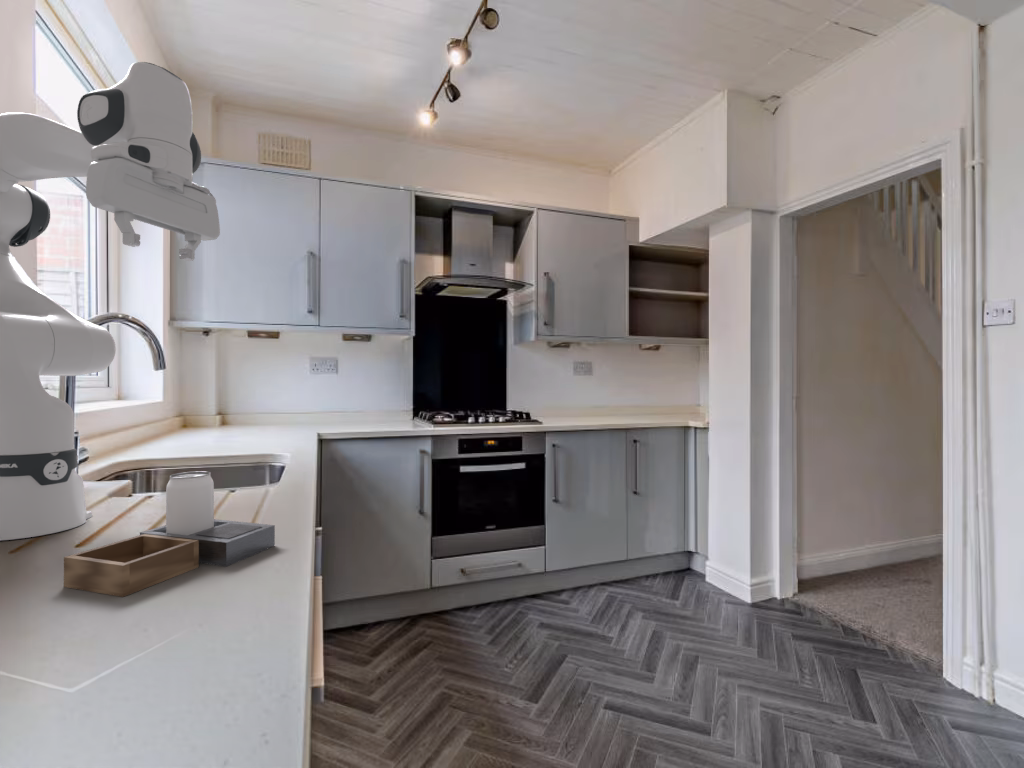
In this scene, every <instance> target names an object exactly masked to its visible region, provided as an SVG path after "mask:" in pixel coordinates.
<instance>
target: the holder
mask: <svg viewBox="0 0 1024 768" xmlns="http://www.w3.org/2000/svg"><path fill="white" fill-rule="evenodd" d="M199 565H200V563H199V540H192V539H183V538H175V537H166V536H158V535H149V534H142V535H140V534H139V535H136V536H132V537H128V538H125V539H123V540H122V539H121V540H119V541H118V540H117V541H114V542H111V543H107V544H104V545H101V546H97V547H95V548H90V549H87V550H85V551H84V550H83V551H81V552H76V553H73V554H70V555H66V556H63V587H64V588H69V589H74V590H80V591H85V592H92V593H98V594H103V595H109V596H115V597H120V598H121V597H122V598H124V597H126V596H129V595H131V594H134V593H137V592H139V591H142V590H145V589H147V588H150V587H152V586H154V585H157V584H159V583H162V582H165V581H167V580H170V579H172V578H175V577H178V576H180V575H183V574H185V573H188V572H190V571H193V570H195V569H197V568H199Z"/></svg>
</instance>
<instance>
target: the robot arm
mask: <svg viewBox="0 0 1024 768" xmlns="http://www.w3.org/2000/svg"><path fill="white" fill-rule="evenodd" d="M192 107H193V106H192V99H191V95H190V90H189V88H188V86H187V84H186V82H185V81H184V80H183V79H181V77H179V76H177V75H176V74H175V73H174V72H172V71H170V70H168V69H166V68H165V67H162V66H160V65H157V64H155V63H151V62H146V61H136V62H133V63H132V64H131V65H130V66H129V69H128V71H127V74H126V75H125V77H124V78H123V79H122V80H120V81H119V82H117V83H116V84H114V85H113V86H111V87H109V88H100V89H97V90H92V91H90V92H88V93H85V94H84V95H82V96H81V97H80V100H79V102H78V105H77V110H76V111H77V112H76V113H77V123H78V127H79V130H80V131H79V130H77V129H75V128H73V127H70V126H67V125H65V124H63V123H61V122H60V123H59V122H58V121H55V120H52V119H50V118H47V117H44V116H41V115H38V114H34V113H25V112H5V113H1V114H0V541H9V540H10V541H11V540H20V539H25V538H26V539H27V538H31V537H32V538H34V537H39V536H45V535H46V536H47V535H50V534H55V533H56V534H57V533H59V532H64V531H67V530H71V529H75V528H77V527H79V526H82V525H83V524H85V523H86V521H87V519H90V518H92V517H93V512H92V511H91V510H87V505H86V495H85V494H86V493H85V488H84V487H85V486H84V479H83V477H82V475H80V474H79V473H78V472H77V471H76V468H77V467H78V459H79V455H78V449H76V448H75V413H74V410H73V408H72V406H71V405H70V404H68V402H66V401H65V400H63V399H61V398H59V397H56V396H54V395H51V394H49V393H48V391H46V390H45V388H44V386H43V385H42V383H41V378H40V376H43V377H45V376H54V377H58V376H60V377H76V376H83V375H90V374H95V373H100V372H103V371H105V370H106V369H107V368H109V366H111V364H112V362H113V361H114V359H115V355H116V350H117V348H116V342H115V340H114V337H113V336H112V334H111V333H110V331H109V330H108V329H106V328H105V327H104V326H101V325H98V324H96V323H93V322H92V321H89V320H87V319H85V318H83V317H80V316H79V315H77V314H76V313H74V312H72V311H71V310H69V309H67V308H66V307H65V306H64V305H61V304H60V303H59V302H58V301H55V300H54V299H53V298H52V297H50V296H49V295H47V294H46V293H45V292H43V291H42V289H40V288H39V286H38V285H36V283H35V282H34V281H33V280H32V278H31V277H30V275H29V274H28V273H27V272H26V270H25V269H24V268H23V266H22V265H21V263H20V262H19V261H18V260H17V258H16V257H15V255H14V254H13V253H12V251H11V250H10V247H14V248H15V247H17V248H18V247H23V246H25V245H26V244H28V242H29V241H33V240H35V239H36V238H38V237H39V236H40V235H41V234H43V233H44V232H45V231H46V230H47V228H48V226H49V224H50V222H51V221H50V220H51V209H50V206H49V204H48V202H47V200H46V198H45V197H44V196H43V195H42V194H40V193H39V192H38V191H36V190H33V189H31V188H30V187H27V186H25V185H22V184H18V183H22V182H32V181H40V180H47V179H58V178H75V177H76V178H86V182H85V195H86V199H87V201H88V202H89V204H90V205H91V206H92V207H94V208H96V209H100V210H103V211H105V212H110V213H112V214H114V215H113V216H114V218H113V219H114V222H115V224H116V226H117V227H118V229H119V230H120V232H121V234H122V244H123V245H125V246H129V247H132V248H136V247H140V245H141V241H140V240H141V234H138V233H136V232H135V229H134V228H133V226H132V222H133V221H134V220H135V221H138V222H142V223H145V224H147V225H148V224H149V225H151V226H154V227H158V228H161V229H164V230H167V231H171V232H173V233H177V234H181V235H183V236H184V241H185V242H186V245H185V246H184V248H179V250H178V253H179V255H178V258H179V259H180V260H183V261H186V262H191V261H193V262H194V260H195V259H196V258H195V255H196V253H195V252H196V251H197V248H198V247H199V246H200V244H201V243H202V241H206V242H207V241H215V240H216V239H218V237H220V235H221V227H220V218H219V217H220V216H219V211H218V206H217V199H216V197H215V196H214V195H213V193H211V192H210V189H209V188H207V187H205V186H201V185H199V184H197V183H195V182H193V174H194V173H196V172H197V170H198V169H199V168H200V165H201V164H202V151H201V150H202V149H201V147H200V144H199V141H198V139H197V137H196V135H195V133H194V132H193V109H192Z"/></svg>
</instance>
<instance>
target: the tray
mask: <svg viewBox="0 0 1024 768" xmlns="http://www.w3.org/2000/svg"><path fill="white" fill-rule="evenodd" d="M275 526H276V525H274V524H265V523H254V522H244V521H236V520H226V519H217V518H216V519H215V518H214V527H212V528H209V529H206V530H203V531H200V532H197V533H194V534H190V535H179V534H170V533H166V525H161V526H158V527H154V528H151V529H147V530H145V531H141V532H139V535H142V534H149V535H158V536H166V537H175V538H183V539H192V540H199V564H203V565H204V564H205V565H210V566H211V565H212V566H218V567H224V568H226V567H229V566H232V565H233V564H236V563H238V562H241V561H243V560H246V559H247V558H249V557H252V556H254V555H257V554H259V553H262V552H263V551H266V550H268V549H267V548H269V549H271V548H273V547H275V546H276V545H275V543H276V541H275V538H276V537H275V536H276V535H275V531H276V530H275V528H276V527H275ZM274 545H275V546H274ZM272 546H273V547H272ZM270 547H271V548H270Z"/></svg>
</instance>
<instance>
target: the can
mask: <svg viewBox="0 0 1024 768" xmlns="http://www.w3.org/2000/svg"><path fill="white" fill-rule="evenodd" d="M211 473H212V472H211V471H205V470H203V471H202V470H201V471H187V472H178V473H173V474H171V475H169V480H168V483H166V491H165V493H166V494H165V499H166V500H165V524H166V533H170V534H179V535H190V534H194V533H197V532H200V531H203V530H206V529H209V528H212V527H214V519H215V494H214V493H215V490H214V489H215V485H214V480H213V478H212V476H211Z"/></svg>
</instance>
